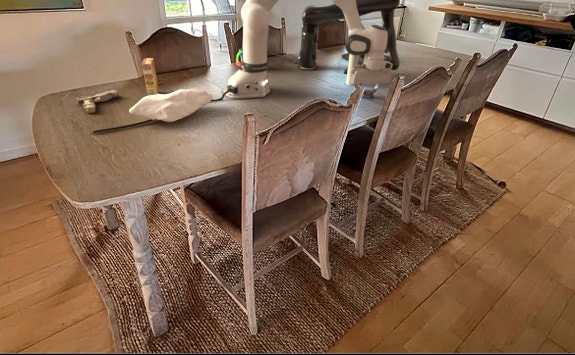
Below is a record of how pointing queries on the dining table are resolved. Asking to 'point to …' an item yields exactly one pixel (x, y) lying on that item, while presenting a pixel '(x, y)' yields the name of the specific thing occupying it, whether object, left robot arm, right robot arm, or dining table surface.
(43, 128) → the dining table surface
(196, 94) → the crumpled cloth
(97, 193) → the dining table surface
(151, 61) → the candy box
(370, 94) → the cap
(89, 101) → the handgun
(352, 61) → the cream tall cylinder
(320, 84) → the dining table surface
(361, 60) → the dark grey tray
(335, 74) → the dining table surface
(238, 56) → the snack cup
